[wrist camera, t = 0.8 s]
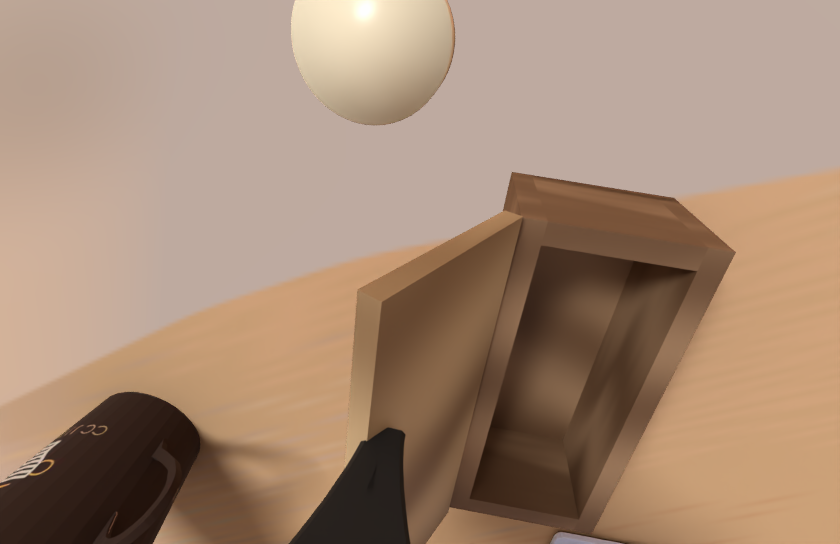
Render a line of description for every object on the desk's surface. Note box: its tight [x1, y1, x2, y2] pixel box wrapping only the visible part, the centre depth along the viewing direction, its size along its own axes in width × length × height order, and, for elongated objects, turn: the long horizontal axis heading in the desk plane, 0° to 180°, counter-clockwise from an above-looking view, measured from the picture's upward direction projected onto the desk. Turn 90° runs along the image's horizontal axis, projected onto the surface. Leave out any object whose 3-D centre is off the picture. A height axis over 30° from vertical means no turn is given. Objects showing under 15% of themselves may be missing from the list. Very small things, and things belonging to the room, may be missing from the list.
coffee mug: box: [0, 392, 200, 544], centre depth 24 cm, size 12×9×10 cm
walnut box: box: [449, 172, 736, 534], centre depth 19 cm, size 14×6×5 cm, turn 173°
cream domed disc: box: [291, 0, 455, 125], centre depth 16 cm, size 5×5×2 cm
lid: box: [344, 211, 523, 544], centre depth 15 cm, size 14×7×1 cm
